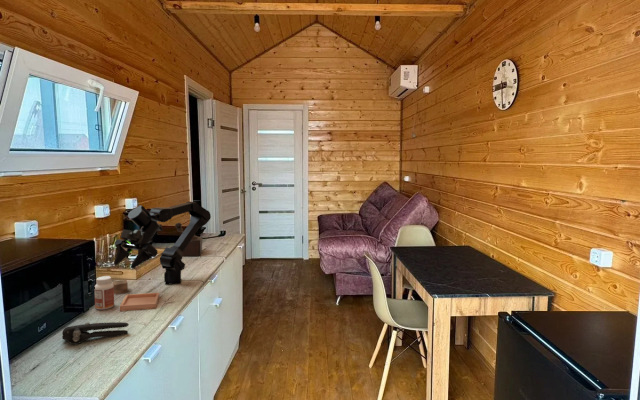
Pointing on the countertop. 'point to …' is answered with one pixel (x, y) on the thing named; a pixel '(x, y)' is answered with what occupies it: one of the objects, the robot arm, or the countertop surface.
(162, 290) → the countertop surface
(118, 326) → the can opener
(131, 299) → the tray
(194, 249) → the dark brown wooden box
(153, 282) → the countertop surface
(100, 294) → the pill bottle
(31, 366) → the countertop surface
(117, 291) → the walnut block
